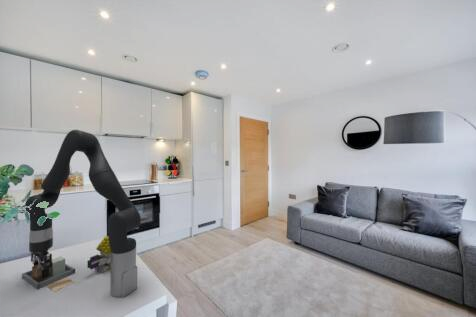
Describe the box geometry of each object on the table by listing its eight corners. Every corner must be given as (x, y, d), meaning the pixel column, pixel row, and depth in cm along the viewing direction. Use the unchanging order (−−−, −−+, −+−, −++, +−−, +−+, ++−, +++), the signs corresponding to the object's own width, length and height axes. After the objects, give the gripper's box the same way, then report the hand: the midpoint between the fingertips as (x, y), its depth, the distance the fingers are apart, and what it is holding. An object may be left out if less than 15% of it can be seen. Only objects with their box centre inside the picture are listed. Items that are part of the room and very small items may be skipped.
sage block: (65, 271, 94) (65, 258, 94) (53, 276, 90) (53, 263, 90) (60, 268, 96) (60, 256, 96) (48, 273, 92) (48, 260, 92)
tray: (75, 274, 93) (75, 268, 93) (37, 290, 81) (37, 284, 81) (58, 265, 100) (58, 260, 100) (22, 279, 89) (22, 273, 89)
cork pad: (74, 283, 87) (74, 281, 87) (53, 293, 80) (53, 291, 80) (66, 278, 90) (66, 277, 90) (46, 287, 83) (46, 286, 83)
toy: (82, 274, 93) (82, 242, 93) (110, 261, 105) (111, 233, 104) (93, 280, 89) (93, 247, 88) (122, 266, 100) (122, 236, 100)
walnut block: (49, 277, 89) (49, 264, 89) (36, 283, 85) (36, 269, 85) (45, 274, 91) (45, 261, 91) (31, 280, 87) (31, 266, 87)
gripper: (59, 238, 88) (59, 274, 89) (45, 232, 95) (45, 265, 95) (36, 245, 82) (36, 284, 82) (23, 237, 88) (22, 273, 89)
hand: (41, 274), depth 89 cm, fingers open, 8 cm apart
